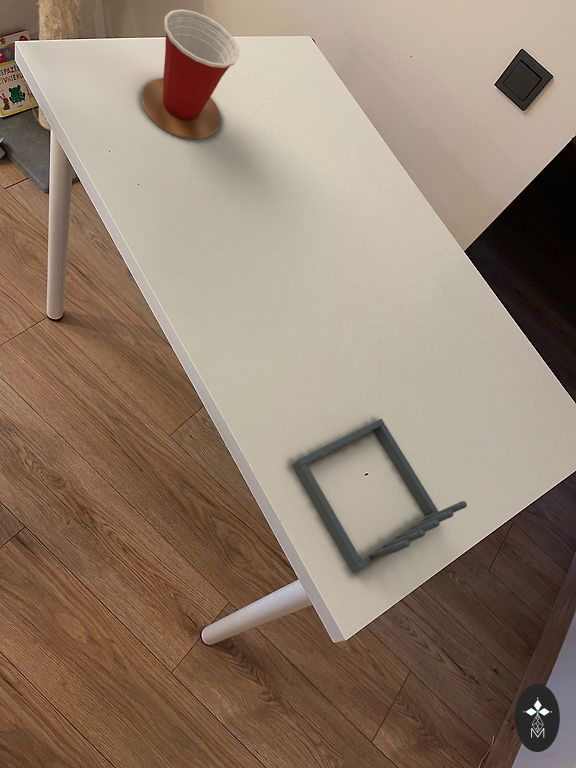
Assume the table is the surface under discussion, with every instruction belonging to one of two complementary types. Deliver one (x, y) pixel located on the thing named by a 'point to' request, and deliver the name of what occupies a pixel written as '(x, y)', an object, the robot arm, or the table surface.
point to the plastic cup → (194, 61)
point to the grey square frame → (410, 479)
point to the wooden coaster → (178, 127)
